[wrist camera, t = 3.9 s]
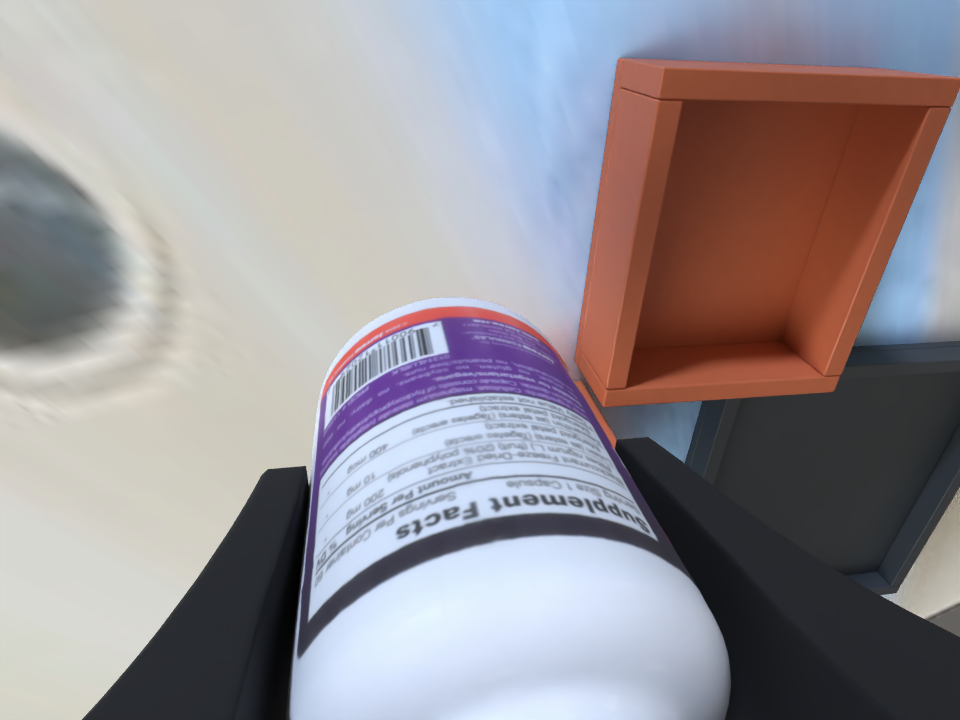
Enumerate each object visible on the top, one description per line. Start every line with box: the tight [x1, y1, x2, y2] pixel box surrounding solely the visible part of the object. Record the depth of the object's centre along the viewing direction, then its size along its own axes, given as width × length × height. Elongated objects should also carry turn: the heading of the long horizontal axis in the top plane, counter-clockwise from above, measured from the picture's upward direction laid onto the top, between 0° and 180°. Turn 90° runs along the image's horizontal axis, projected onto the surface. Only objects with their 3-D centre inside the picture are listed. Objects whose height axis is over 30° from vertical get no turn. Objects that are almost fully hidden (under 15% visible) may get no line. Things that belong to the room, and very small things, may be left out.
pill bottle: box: [286, 297, 731, 720], centre depth 9 cm, size 5×5×10 cm
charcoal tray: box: [685, 341, 960, 595], centre depth 27 cm, size 14×13×1 cm
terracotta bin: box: [574, 58, 960, 407], centre depth 18 cm, size 10×8×3 cm
